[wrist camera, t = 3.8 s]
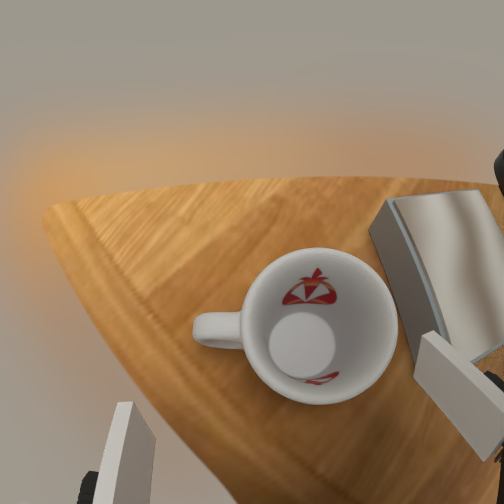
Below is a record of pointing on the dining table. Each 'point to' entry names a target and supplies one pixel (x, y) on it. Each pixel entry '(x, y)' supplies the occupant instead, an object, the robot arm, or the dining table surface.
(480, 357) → the grey flat block
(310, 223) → the dining table surface
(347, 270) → the cup
